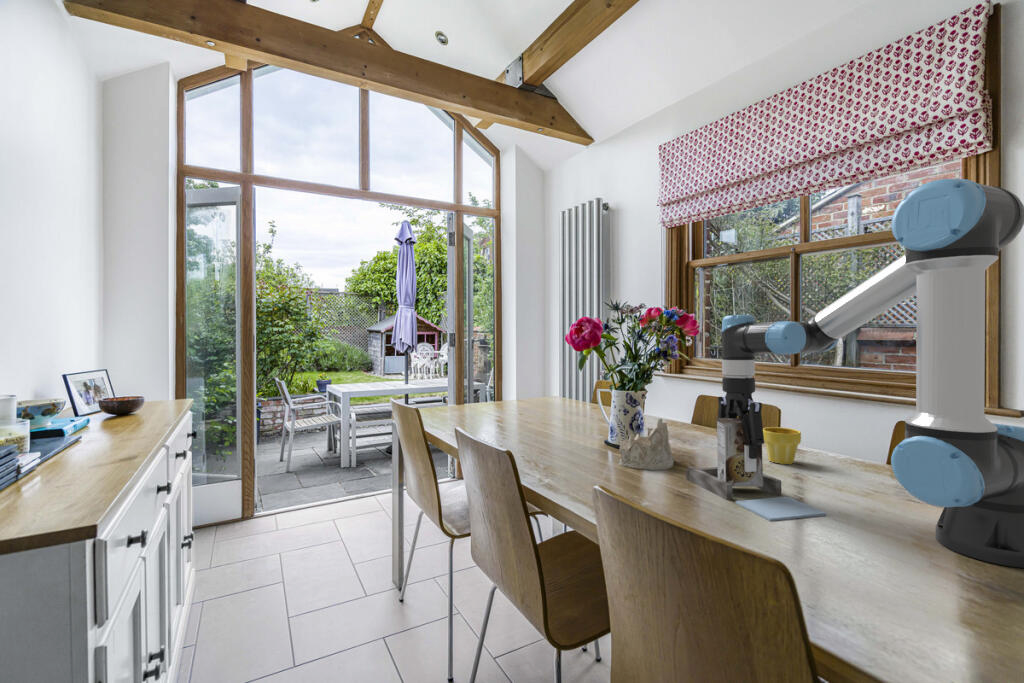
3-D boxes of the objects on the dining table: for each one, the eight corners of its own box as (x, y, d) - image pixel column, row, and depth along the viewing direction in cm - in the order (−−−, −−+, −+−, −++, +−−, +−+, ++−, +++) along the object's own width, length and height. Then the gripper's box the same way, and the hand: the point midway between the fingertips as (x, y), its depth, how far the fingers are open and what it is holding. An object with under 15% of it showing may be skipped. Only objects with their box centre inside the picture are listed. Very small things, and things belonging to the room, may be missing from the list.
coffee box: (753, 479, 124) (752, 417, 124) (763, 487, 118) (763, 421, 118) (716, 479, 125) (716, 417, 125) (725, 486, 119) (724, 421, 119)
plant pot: (808, 466, 143) (808, 433, 142) (773, 466, 143) (773, 433, 143) (789, 457, 153) (789, 426, 153) (756, 457, 153) (756, 427, 153)
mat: (826, 515, 105) (826, 512, 105) (769, 521, 102) (769, 518, 102) (787, 498, 115) (787, 496, 115) (735, 503, 112) (735, 501, 112)
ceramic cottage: (679, 459, 152) (675, 411, 152) (667, 474, 138) (662, 422, 138) (630, 456, 160) (627, 411, 160) (614, 470, 146) (610, 421, 146)
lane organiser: (781, 494, 118) (781, 480, 118) (726, 499, 115) (726, 485, 115) (734, 474, 135) (734, 462, 135) (686, 478, 132) (686, 465, 132)
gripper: (781, 379, 112) (782, 477, 112) (726, 373, 132) (726, 456, 132) (753, 380, 111) (754, 479, 111) (701, 373, 131) (702, 458, 131)
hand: (739, 466), depth 122 cm, fingers closed on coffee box, 7 cm apart
